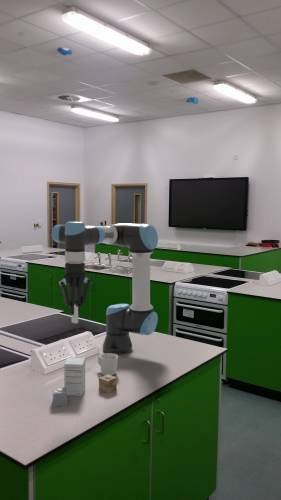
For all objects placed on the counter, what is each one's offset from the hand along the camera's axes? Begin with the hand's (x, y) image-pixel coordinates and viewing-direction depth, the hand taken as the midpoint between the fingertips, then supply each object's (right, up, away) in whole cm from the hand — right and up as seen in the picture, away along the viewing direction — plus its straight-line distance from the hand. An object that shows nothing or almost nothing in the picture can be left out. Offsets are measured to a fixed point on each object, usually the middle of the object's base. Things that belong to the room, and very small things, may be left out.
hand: (74, 322), depth 169 cm
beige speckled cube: (+12, -28, +6) cm, 31 cm away
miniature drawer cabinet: (0, -28, +3) cm, 28 cm away
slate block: (-5, -29, -7) cm, 30 cm away
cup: (+11, -26, +23) cm, 36 cm away
